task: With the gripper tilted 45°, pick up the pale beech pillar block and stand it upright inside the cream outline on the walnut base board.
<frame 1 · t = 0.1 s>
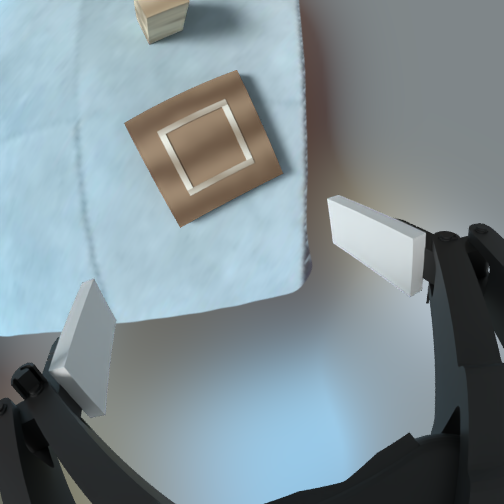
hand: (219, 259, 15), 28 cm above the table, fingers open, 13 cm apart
base board: (203, 146, 39), on the table
beech pillar: (159, 24, 30), on the table
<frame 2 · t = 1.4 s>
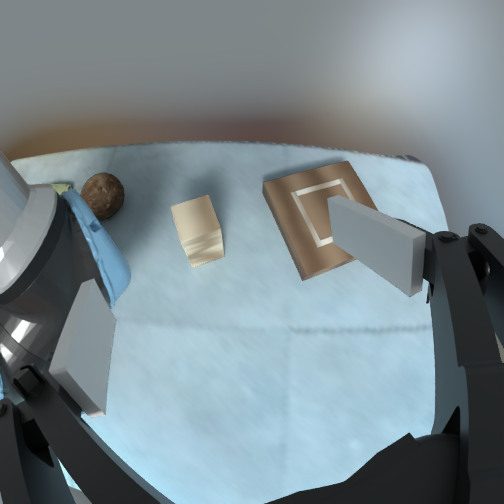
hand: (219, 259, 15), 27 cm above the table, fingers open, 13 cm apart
base board: (326, 219, 47), on the table
beech pillar: (203, 247, 44), on the table
mushroom: (107, 205, 47), on the table
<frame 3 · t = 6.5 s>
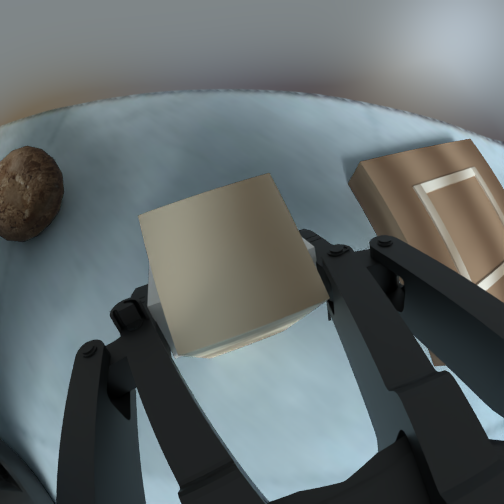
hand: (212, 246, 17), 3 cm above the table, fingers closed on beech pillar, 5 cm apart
base board: (456, 239, 21), on the table
beech pillar: (233, 308, 19), on the table, touching gripper
mushroom: (39, 211, 21), on the table
when the fingers open (8 cm above the table, at t = 12.4 s): beech pillar drops 1 cm, resting on base board.
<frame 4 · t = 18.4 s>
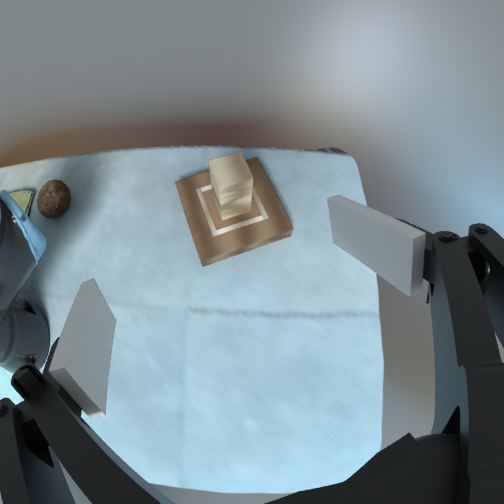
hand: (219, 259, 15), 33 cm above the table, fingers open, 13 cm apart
washcloth: (7, 219, 51), on the table
base board: (231, 211, 53), on the table
beech pillar: (231, 203, 50), point 3 cm above the table, touching base board
mushroom: (59, 206, 52), on the table
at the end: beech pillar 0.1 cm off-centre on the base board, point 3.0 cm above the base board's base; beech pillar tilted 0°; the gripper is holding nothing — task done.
